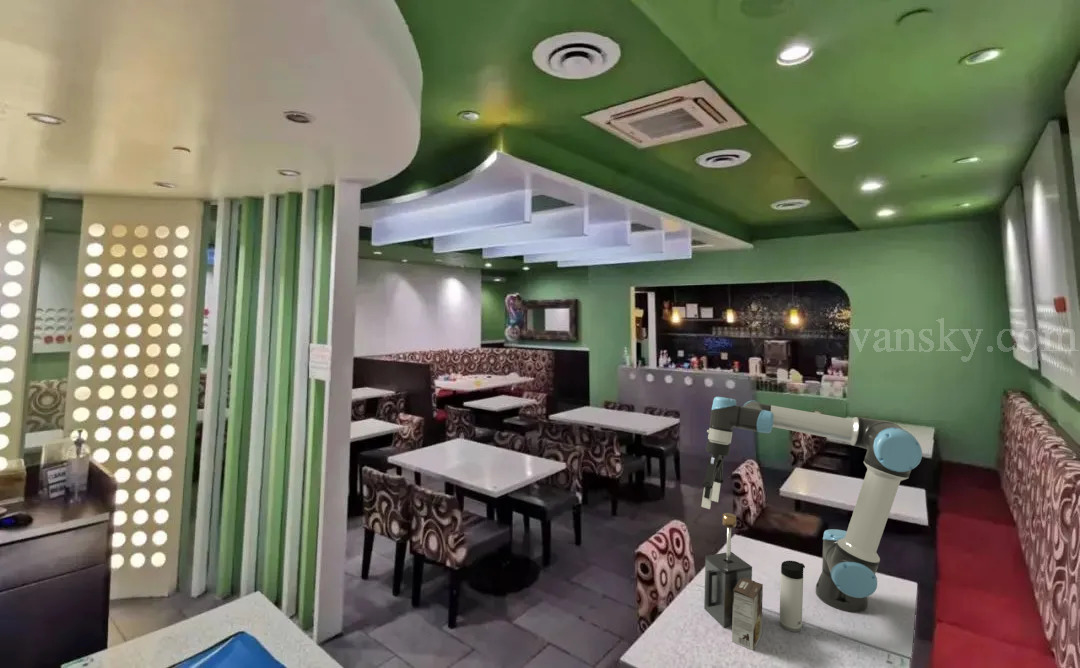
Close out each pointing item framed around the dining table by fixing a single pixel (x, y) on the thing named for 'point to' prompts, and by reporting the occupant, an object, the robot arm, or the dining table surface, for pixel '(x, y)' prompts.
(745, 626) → the coffee box
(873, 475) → the robot arm
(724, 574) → the press pot
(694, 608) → the dining table surface
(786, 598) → the travel mug
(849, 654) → the dining table surface
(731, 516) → the plunger
